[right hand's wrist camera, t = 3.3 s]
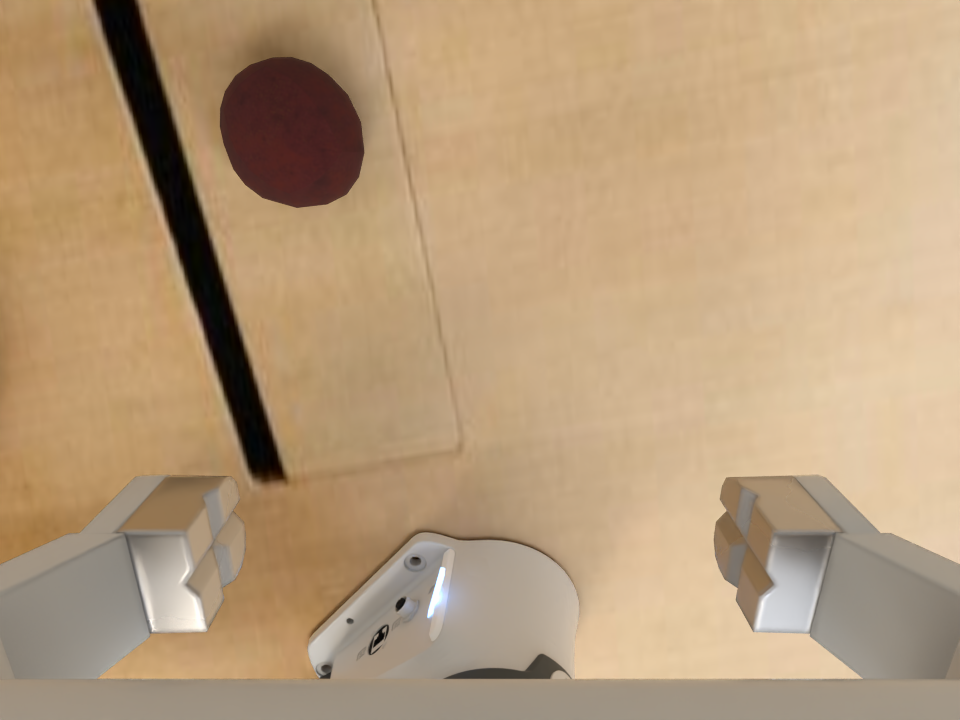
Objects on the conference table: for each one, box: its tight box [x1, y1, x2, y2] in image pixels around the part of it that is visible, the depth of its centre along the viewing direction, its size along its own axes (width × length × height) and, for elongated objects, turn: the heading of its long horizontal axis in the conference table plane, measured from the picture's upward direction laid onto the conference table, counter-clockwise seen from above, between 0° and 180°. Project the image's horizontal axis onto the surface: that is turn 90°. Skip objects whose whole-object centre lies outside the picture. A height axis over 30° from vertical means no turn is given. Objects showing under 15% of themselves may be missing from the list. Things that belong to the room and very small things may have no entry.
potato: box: [220, 57, 364, 208], centre depth 33 cm, size 7×8×7 cm
